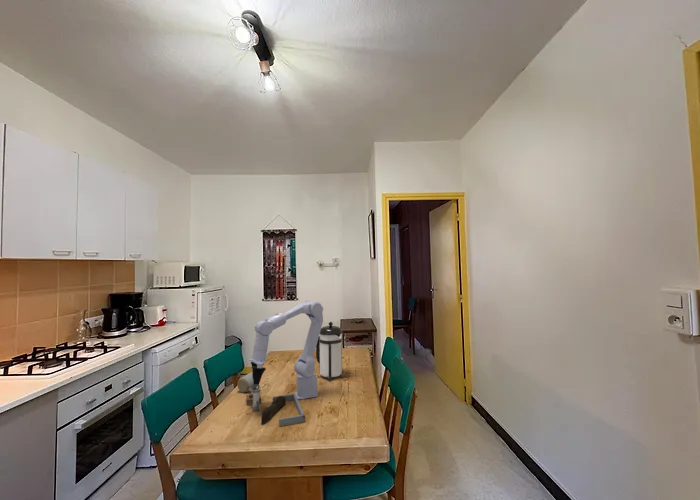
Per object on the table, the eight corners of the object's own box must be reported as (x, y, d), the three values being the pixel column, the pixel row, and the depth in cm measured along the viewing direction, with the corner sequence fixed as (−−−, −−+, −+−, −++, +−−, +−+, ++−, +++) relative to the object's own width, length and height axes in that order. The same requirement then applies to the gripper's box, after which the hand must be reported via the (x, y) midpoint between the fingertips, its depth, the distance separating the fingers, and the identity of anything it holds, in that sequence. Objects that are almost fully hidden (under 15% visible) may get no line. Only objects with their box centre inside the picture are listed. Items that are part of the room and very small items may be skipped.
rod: (258, 408, 137) (259, 391, 137) (259, 411, 134) (259, 394, 135) (252, 409, 136) (252, 392, 136) (252, 412, 134) (253, 395, 134)
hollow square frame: (259, 398, 147) (260, 392, 147) (260, 403, 142) (261, 397, 142) (246, 400, 145) (246, 394, 145) (246, 405, 140) (246, 399, 140)
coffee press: (346, 372, 183) (345, 319, 185) (342, 382, 167) (342, 324, 169) (316, 371, 185) (316, 319, 187) (310, 381, 169) (310, 324, 171)
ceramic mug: (235, 392, 155) (236, 376, 155) (247, 386, 163) (247, 371, 163) (253, 395, 151) (253, 379, 151) (264, 389, 158) (264, 373, 159)
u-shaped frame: (294, 399, 146) (294, 393, 146) (305, 421, 125) (305, 415, 125) (272, 402, 143) (272, 396, 143) (279, 426, 121) (279, 419, 121)
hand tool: (277, 404, 142) (277, 393, 142) (285, 405, 141) (285, 394, 141) (255, 425, 123) (255, 412, 123) (264, 426, 122) (264, 413, 122)
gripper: (250, 345, 144) (245, 376, 142) (251, 351, 130) (246, 386, 128) (266, 346, 146) (261, 377, 144) (269, 352, 133) (264, 386, 131)
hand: (255, 381), depth 136 cm, fingers open, 7 cm apart
